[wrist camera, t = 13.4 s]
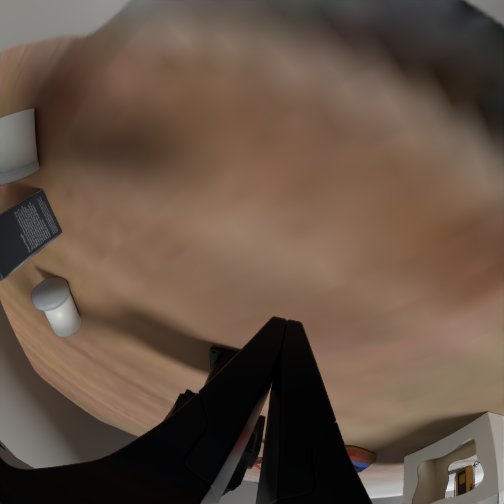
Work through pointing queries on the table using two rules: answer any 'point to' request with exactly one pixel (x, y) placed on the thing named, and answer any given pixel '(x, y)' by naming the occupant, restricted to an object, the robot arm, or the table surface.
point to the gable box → (452, 449)
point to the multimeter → (465, 480)
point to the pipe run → (14, 168)
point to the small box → (25, 232)
